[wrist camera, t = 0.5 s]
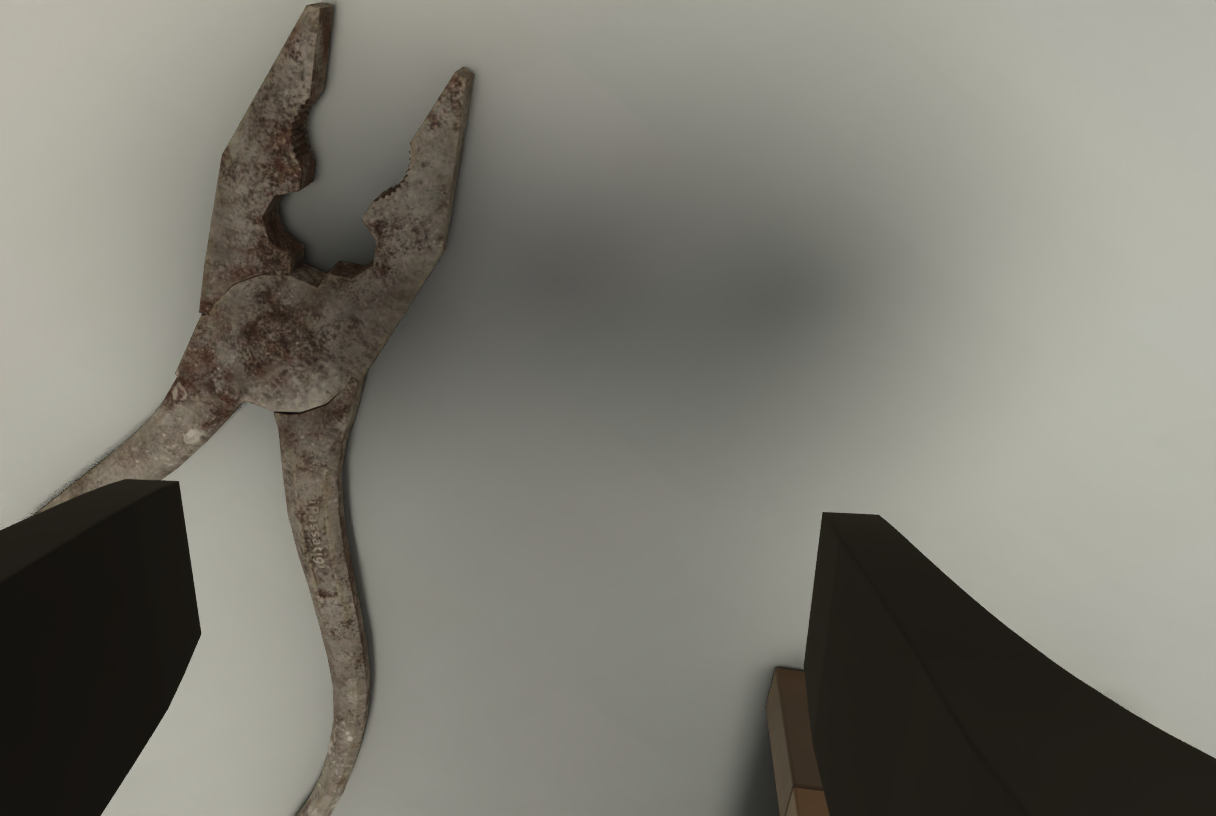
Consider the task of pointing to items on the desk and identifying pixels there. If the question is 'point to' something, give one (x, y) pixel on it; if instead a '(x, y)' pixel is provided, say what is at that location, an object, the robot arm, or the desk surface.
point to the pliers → (301, 341)
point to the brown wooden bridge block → (793, 747)
